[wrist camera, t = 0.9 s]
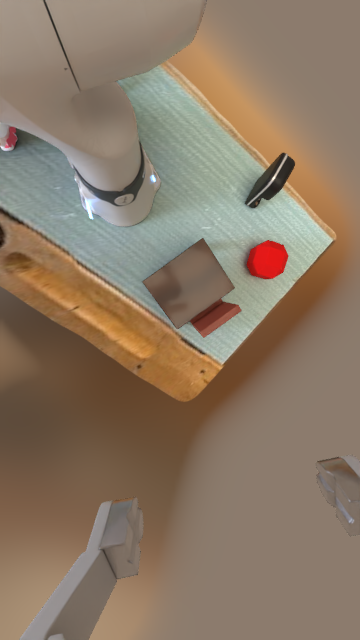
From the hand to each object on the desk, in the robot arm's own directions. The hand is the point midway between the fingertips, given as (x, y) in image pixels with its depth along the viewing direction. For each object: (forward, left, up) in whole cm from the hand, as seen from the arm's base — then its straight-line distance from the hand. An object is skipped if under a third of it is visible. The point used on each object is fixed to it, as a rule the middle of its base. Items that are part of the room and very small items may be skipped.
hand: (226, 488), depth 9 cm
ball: (-7, +27, -45) cm, 53 cm away
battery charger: (-22, +31, -45) cm, 59 cm away
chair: (-4, +8, -45) cm, 46 cm away
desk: (-8, +7, -45) cm, 46 cm away
